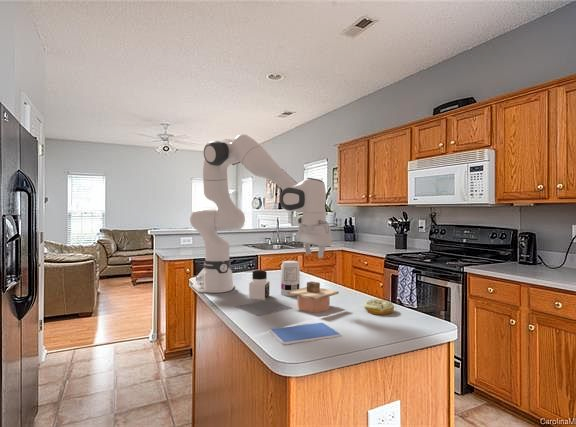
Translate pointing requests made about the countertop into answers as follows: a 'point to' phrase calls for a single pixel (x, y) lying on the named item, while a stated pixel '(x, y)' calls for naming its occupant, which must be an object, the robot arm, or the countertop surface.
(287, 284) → the supplement can
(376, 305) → the decorated donut
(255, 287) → the medicine bottle
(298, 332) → the tablet computer
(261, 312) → the mat
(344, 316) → the countertop surface
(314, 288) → the lid
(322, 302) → the bowl
